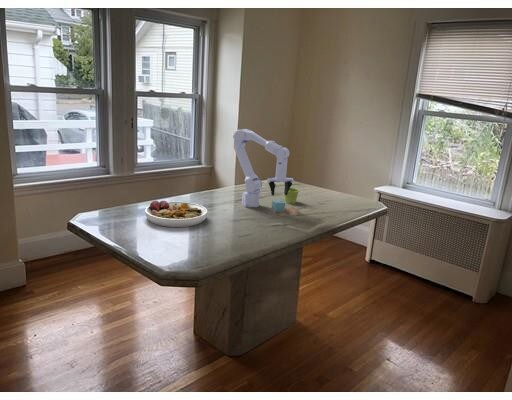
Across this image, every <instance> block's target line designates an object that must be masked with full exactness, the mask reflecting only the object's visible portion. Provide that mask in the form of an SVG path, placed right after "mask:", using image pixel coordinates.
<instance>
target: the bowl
mask: <svg viewBox="0 0 512 400" xmlns="http://www.w3.org/2000/svg"><path fill="white" fill-rule="evenodd" d="M144 213H145V217H146V219H148V220H149V222H151V223H152V224H155V225H158V226H160V227H161V226H162V227H166V228H187V227H193V226H196V225H199V224H200V223H202V222H204V221H205V220H206V218H207V217H208V209H207V208H206V207H205V206H203V205H201V204H197V203H193V202H185V201H166V200H160V201H158V200H153V201H152V202H151V203H149V205H148V206H146V208H145V210H144Z"/></svg>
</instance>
